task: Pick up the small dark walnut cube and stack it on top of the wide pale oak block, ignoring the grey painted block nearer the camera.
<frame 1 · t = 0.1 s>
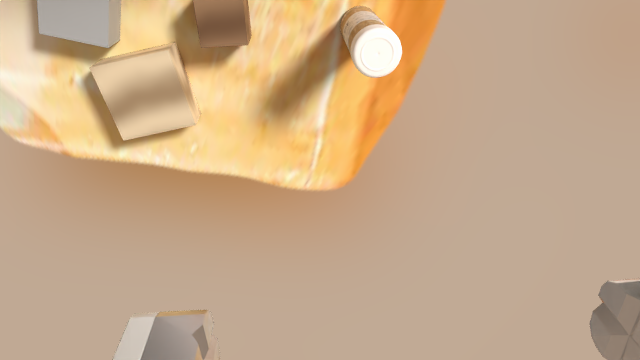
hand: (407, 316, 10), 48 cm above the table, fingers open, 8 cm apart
oak block: (153, 86, 56), on the table
sprinkles bottle: (358, 25, 53), on the table
grey block: (88, 1, 51), on the table
walnut cube: (227, 13, 52), on the table
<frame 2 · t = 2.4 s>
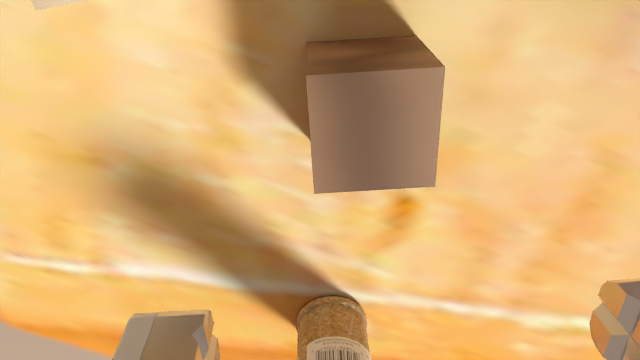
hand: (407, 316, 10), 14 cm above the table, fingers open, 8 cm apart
sprinkles bottle: (331, 316, 30), on the table
walnut cube: (361, 91, 22), on the table
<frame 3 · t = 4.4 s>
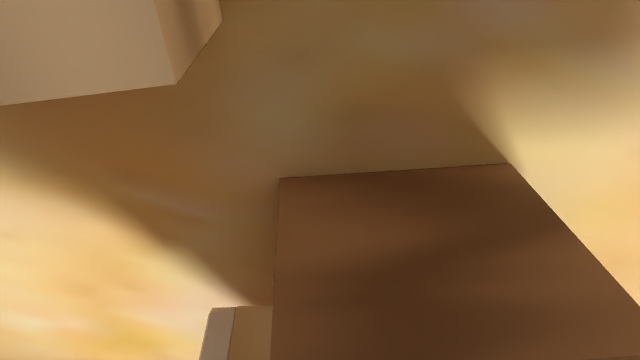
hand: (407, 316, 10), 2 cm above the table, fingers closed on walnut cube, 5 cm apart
walnut cube: (392, 261, 11), on the table, touching gripper
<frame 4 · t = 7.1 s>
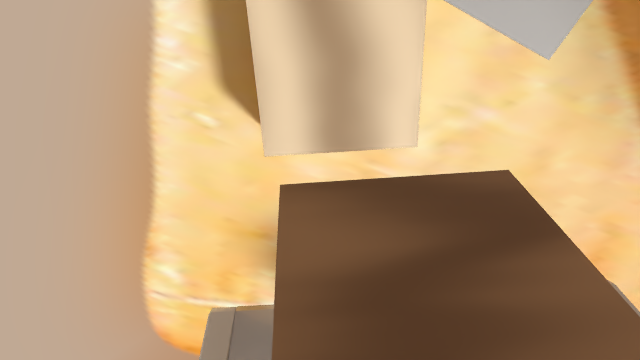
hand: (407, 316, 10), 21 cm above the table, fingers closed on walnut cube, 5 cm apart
oak block: (333, 57, 28), on the table
walnut cube: (391, 267, 11), point 19 cm above the table, touching gripper
when the fingers open (7 cm above the table, at t = 9.9 s): walnut cube drops 2 cm, resting on oak block.
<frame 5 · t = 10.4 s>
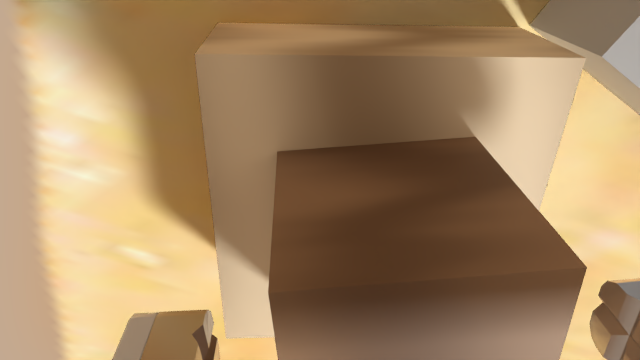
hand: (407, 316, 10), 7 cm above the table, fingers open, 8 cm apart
oak block: (359, 155, 16), on the table, touching walnut cube
walnut cube: (376, 225, 13), point 4 cm above the table, touching oak block
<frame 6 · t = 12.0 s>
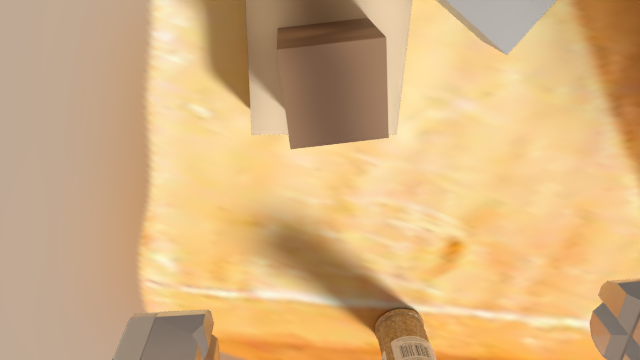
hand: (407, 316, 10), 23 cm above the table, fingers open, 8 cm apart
oak block: (322, 46, 30), on the table, touching walnut cube
sprinkles bottle: (398, 322, 42), on the table
walnut cube: (326, 67, 26), point 4 cm above the table, touching oak block
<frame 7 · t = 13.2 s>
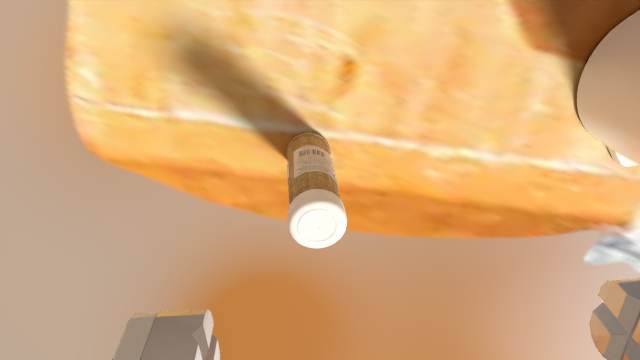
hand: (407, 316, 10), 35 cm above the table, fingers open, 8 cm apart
sprinkles bottle: (308, 150, 47), on the table
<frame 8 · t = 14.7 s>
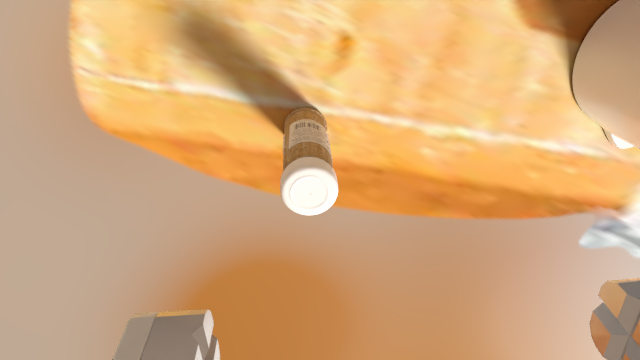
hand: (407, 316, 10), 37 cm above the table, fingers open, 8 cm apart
sprinkles bottle: (305, 125, 47), on the table
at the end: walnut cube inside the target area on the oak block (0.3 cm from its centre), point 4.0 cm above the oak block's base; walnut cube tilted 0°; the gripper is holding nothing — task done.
